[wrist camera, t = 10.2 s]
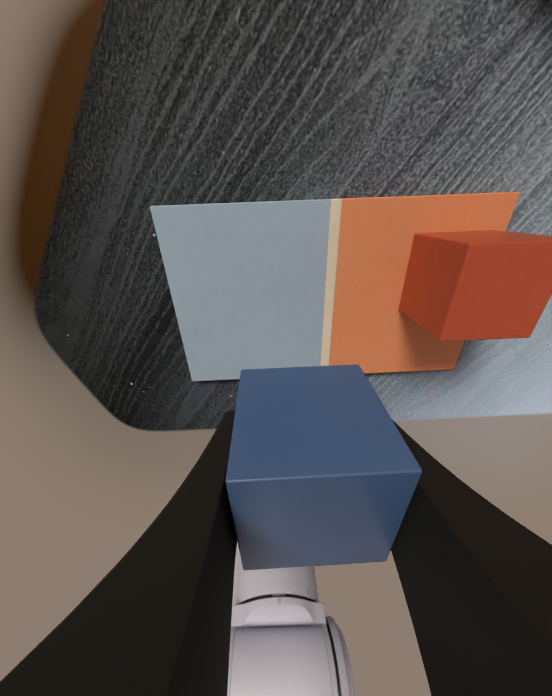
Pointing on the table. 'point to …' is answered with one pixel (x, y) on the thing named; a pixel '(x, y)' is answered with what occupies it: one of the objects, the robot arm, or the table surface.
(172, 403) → the table surface
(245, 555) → the slate blue block
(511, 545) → the robot arm
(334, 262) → the mat
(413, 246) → the terracotta block
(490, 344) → the table surface
